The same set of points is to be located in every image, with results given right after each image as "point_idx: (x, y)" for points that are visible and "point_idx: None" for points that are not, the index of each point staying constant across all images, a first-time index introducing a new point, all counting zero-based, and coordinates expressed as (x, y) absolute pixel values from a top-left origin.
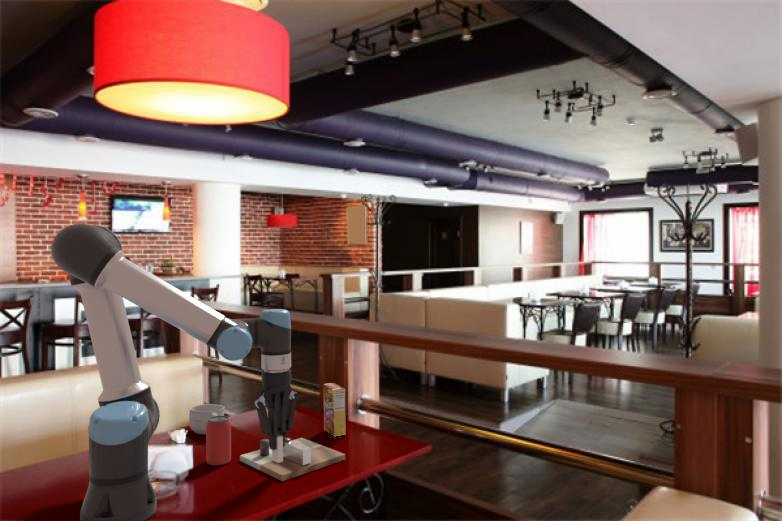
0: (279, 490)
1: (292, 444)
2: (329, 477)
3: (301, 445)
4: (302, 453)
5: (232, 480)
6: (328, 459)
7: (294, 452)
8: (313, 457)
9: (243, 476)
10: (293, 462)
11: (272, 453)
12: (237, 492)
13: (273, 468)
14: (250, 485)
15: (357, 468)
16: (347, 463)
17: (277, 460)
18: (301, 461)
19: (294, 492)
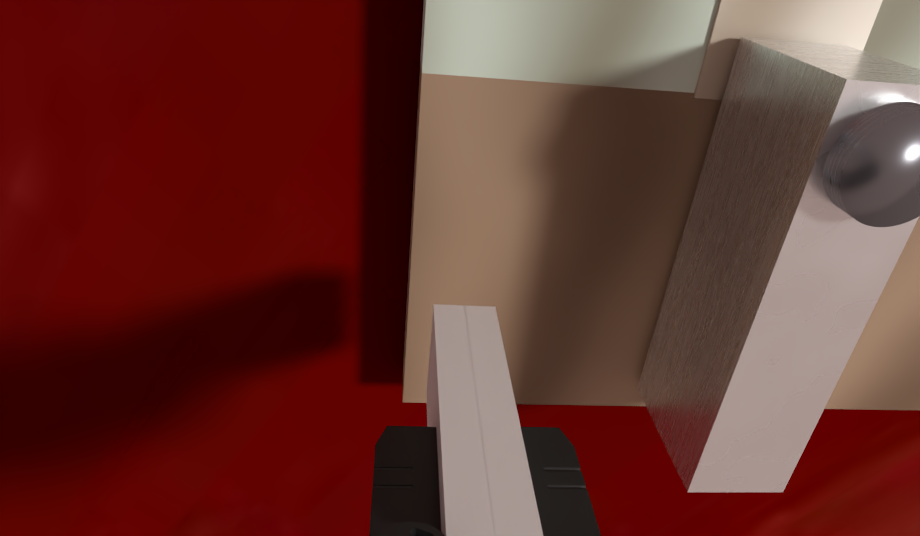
0: (297, 455)
1: (792, 308)
2: (648, 502)
3: (805, 395)
4: (677, 459)
5: (69, 52)
6: (860, 403)
7: (703, 340)
8: None
9: (211, 51)
10: (668, 266)
11: (435, 357)
12: (19, 300)
13: (452, 248)
14: (169, 267)
15: (853, 512)
16: (912, 432)
17: (427, 396)
18: (652, 391)
19: (350, 521)
